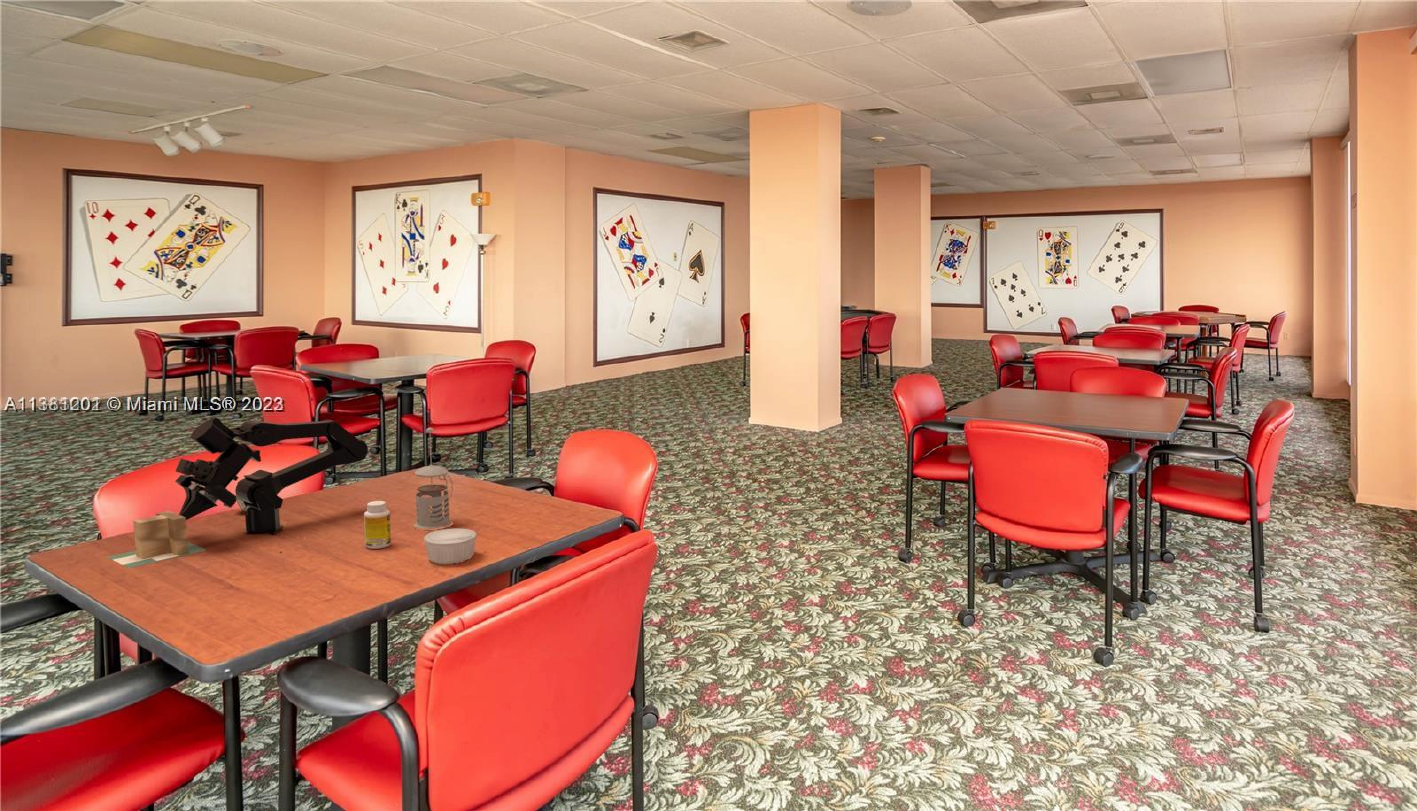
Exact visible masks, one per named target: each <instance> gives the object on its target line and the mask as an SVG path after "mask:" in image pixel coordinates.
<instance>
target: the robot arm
mask: <svg viewBox="0 0 1417 811" xmlns="http://www.w3.org/2000/svg"><path fill="white" fill-rule="evenodd" d="M320 437H322V438H323V437H324V438H325V439H326V441H327V443H328V444H329V446H328V448H326V450H324V451H323V452H320V453H317V454H315V455H313V456H311V457H307V459H304V460H301V461H298V462H296V463H294V464H291V465H289V466H287V467H284V468H281V469H280V470H279V469H278V470H277V471H275V472H270V471H267V470H264V469H263V470H262V469H257V470H256V471H254V472H253V473H251V474H246V475H245V474H244V475H243V477H244V478H242V479H240V480H239V476H237V475H238V474H239V473H240V472H241V471H242V469H244V467H245V466H246V465H247V464H248V462H249V461H250V460H251V461H253V462H256V463H257V462H259V463H260V462H262V458H261V450H260V449H259V450H258V449H252V448H251V447H250V446H248V445H251V446H256V447H266V446H270V445H274V444H277V443H280V442H282V441H285V440H295V439H297V440H298V439H309V438H320ZM190 438H191V440H193V441H194V442H195V443H196V444H198V445H199V446H201V447H202V448H204V450H205V451H207V452H208V453H209V454H212V455H215V454H217V453H218V454H219V455H218V456H217V457H216V459H214V461H213V460H208V461H207V460H203V459H201V458H197V459H196V460H195V461H193V460H192V461H191V460H188V459H185V458H180V460H179V462H178V464H177V466H176V469H175V472H176V473H178V474H179V473H180V475H179V476H178V478H177V479H176V480H175V481H174V482H175V483H176V484H177V485H179V486H180V487H182V488H183V490H184V492H185V495H186V496H185V499H184V503H183V504H182V507H181V509H180V510H179V513H178V515H181V516H183V517H186V521H187V520H190V519H192V518H194V517H196V516H198V515H200V514H202V513H204V512H207V511H208V510H210V509H213V508H214V507H216V508H217V507H218V506H219V505H218V504H217V502H218V501H219V502H221V503H222V504H223V506H224V507H226V508H229V509H232V507H233V506H234V505H235V504H236V502H237V500H236V496H237V497H238V498H239V499H240V500H242V501H243V503H244V505H245V506H248V507H249V508H248V509H247V511H246V514H245V516H244V520H245V531H246V532H245V535H264V534H265V535H267V534H268V535H275V534H276V533H277V532H280V530H282V529H283V528H284V526H283V525H282V524H281V521H280V520H281V518H280V516H281V515H280V509H281V508H282V506H283V502H284V499H283V498H281V497H280V496H279V494H280V493H281V492H282V490H283V489H286V488H288V487H290V486H292V485H294V484H297V483H299V482H301V481H304V480H306V479H308V478H310V477H312V476H315V475H317V474H320V473H321V472H324V471H327V470H329V469H331V468H333V467H336V466H344V465H350V464H354V463H358V462H362V461H364V460H365V459H367V455H368V452H369V447H368V445H367V443H366V442H365V441H364V440H362V439H359V438H357V437H356V436H355V435H354V434H352V433H351V432H350V431H348V430H347V429H346V428H345V427H344V426H342V425H341V424H340V423H339V422H338V421H335V420H331V419H325V420H320V421H317V420H316V421H304V422H303V421H302V422H301V421H300V422H286V423H275V422H270V421H269V422H268V421H261V420H246V421H244V422H243V423H242V424H241V426H237V427H232V428H229V427H228V426H227V425H225V424H224V423H223V422H222V421H221V420H220V419H219V418H218V417H214V416H212V417H210V418H209V420H206V421H204V422H202V423H201V424H200V425H197V426H196V427H195V428H194V430H193V431H192V433H191V435H190ZM236 440H239V441H241V442H242V443H238V442H237V441H236ZM237 480H239V481H237ZM232 481H235V482H237V484H236V486H235V490H234V492H235V494H234V493H233V492H231V491H230V490H229V489H227V487H228V486H229V484H231V483H232Z"/></svg>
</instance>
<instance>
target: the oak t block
mask: <svg viewBox="0 0 1417 811" xmlns="http://www.w3.org/2000/svg"><path fill="white" fill-rule="evenodd" d="M155 514H156V515H155V516H150V517H144V518H139V519H133V520H132V522H133V534H134V543H135V551H136V556H138V557H140V558H142V559H145V558H149V557H154V556H158V555H163V554H167V553H172V554H175V555H179V554H183V553H188V542H189V541H188V530H187V520H186V517H183V516H181V515H179V513H176V512H173V511H170V510H166V511H160V512H156V513H155Z"/></svg>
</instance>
